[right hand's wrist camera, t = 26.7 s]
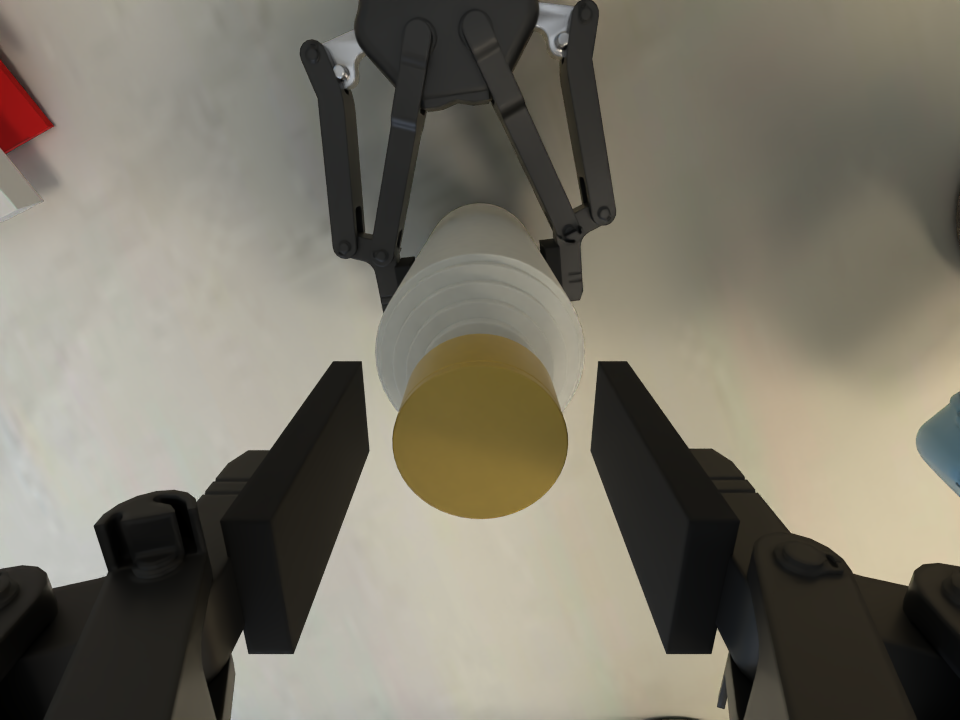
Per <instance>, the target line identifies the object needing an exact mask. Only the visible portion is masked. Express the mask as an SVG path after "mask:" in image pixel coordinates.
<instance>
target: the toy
mask: <svg viewBox="0 0 960 720" xmlns="http://www.w3.org/2000/svg"><path fill="white" fill-rule="evenodd" d="M52 127H54V126H53V124H52V123H51V122H50V121H49V119H48V118H47V117H46V116H45V114H44V113H43V112H42V111H41V110H40V108H39V107H38V106H37V105H36V103H35V102H34V101H33V100H32V98H31V97H30V96H29V95H28V93H27V92H26V91H25V90H24V89H23V87H22V86H21V85H20V84H19V82H18V81H17V80H16V79H15V77H14V76H13V75H12V74H11V72H10V71H9V70H8V69H7V67H6V66H5V65H4V64H3V63H2V61H1V60H0V222H2V221H5V220H8V219H10V218H12V217H14V216H16V215H18V214H20V213H22V212H24V211H25V210H27V209H29V208H31V207H33V206H35V205H37V204H39V203H41V202H43V199H42V198H41V197H40V196H39V194H38V193H37V192H36V191H35V190H34V188H33V187H32V186H31V185H30V184H29V182H28V181H27V180H26V179H25V177H24V176H23V175H22V174H21V173H20V171H19V170H18V169H17V168H16V166H15V165H14V164H13V163H12V162H11V160H10V159H9V158H8V157H7V155H6V153H8V152H10V151H11V150H13V149H15V148H17V147H18V146H20V145H22V144H24V143H26V142H27V141H29V140H31V139H33V138H34V137H36V136H38V135H40V134H41V133H43V132H45V131H47V130H48V129H50V128H52Z"/></svg>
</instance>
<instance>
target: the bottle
mask: <svg viewBox="0 0 960 720" xmlns="http://www.w3.org/2000/svg"><path fill="white" fill-rule="evenodd" d="M468 334H492V335H498V336H502V337H505V338H508V339H511V340H513V341H515V342H517V343H519V344H521V345H523V346H524V347H526V348H527V349H528V350H530V351H531V352H532V353H533V354H535V356H536V357H537V358H538V359H539V360H540V361H541V362H542V364H543V365H544V366H545V368H546V369H547V371H548V373H549V375H550V377H551V380H552V383H553V386H554V389H555V392H556V395H557V398H558V401H559V405H560V408H561V411H562V412H563V410H564V409H565V408H566V406H567V405H568V403H569V402H570V401H571V399H572V397H573V395H574V393H575V391H576V389H577V387H578V384H579V382H580V379H581V376H582V371H583V366H584V357H585V345H584V336H583V331H582V326H581V323H580V321H579V318H578V315H577V313H576V311H575V309H574V307H573V305H572V303H571V301H570V300H569V298H568V297H567V295H566V293H565V292H564V290H563V288H562V287H561V285H560V284H559V282H558V280H557V279H556V277H555V275H554V274H553V272H552V271H551V269H550V267H549V266H548V264H547V262H546V261H545V259H544V258H543V256H542V254H541V253H540V251H539V250H538V248H537V246H536V245H535V243H534V241H533V240H532V238H531V237H530V235H529V233H528V232H527V230H526V228H525V227H524V226H523V224H522V223H521V222H520V221H519V220H518V219H517V218H516V217H515V216H514V215H513V214H512V213H510V212H508V211H507V210H505V209H503V208H501V207H498V206H495V205H492V204H485V203H475V204H468V205H465V206H462V207H459V208H457V209H455V210H453V211H452V212H450V213H449V214H447V215H446V216H445V217H444V218H443V219H442V220H441V221H440V222H439V223H438V224H437V226H436V227H435V229H434V230H433V232H432V234H431V235H430V237H429V238H428V240H427V242H426V243H425V245H424V247H423V248H422V250H421V251H420V253H419V255H418V256H417V258H416V260H415V261H414V263H413V264H412V266H411V268H410V269H409V271H408V273H407V274H406V276H405V277H404V279H403V281H402V282H401V284H400V286H399V287H398V289H397V290H396V292H395V294H394V295H393V297H392V299H391V300H390V302H389V304H388V306H387V308H386V309H385V311H384V313H383V316H382V319H381V321H380V324H379V328H378V332H377V337H376V350H375V354H376V365H377V370H378V374H379V378H380V381H381V384H382V386H383V389H384V391H385V393H386V395H387V397H388V398H389V400H390V402H391V403H392V404H393V406H394V407H395V409H396V410H397V411H398V412H399V409H400V406H401V403H402V400H403V396H404V393H405V390H406V387H407V384H408V381H409V378H410V376H411V374H412V372H413V370H414V369H415V367H416V365H417V364H418V363H419V361H420V360H421V359H422V358H423V357H424V356H425V355H426V354H427V353H428V352H429V351H430V350H432V349H433V348H435V347H436V346H438V345H439V344H441V343H443V342H445V341H447V340H450V339H452V338H455V337H459V336H463V335H468Z"/></svg>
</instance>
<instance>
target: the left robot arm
mask: <svg viewBox="0 0 960 720" xmlns="http://www.w3.org/2000/svg"><path fill="white" fill-rule="evenodd" d="M598 18H599V10H598V7H597V5H596V4H595V3H594V2H593V1H592V0H581V1H579V2H577V4H576V5H575V6H568V5H560V4H551V3H543V2H539V1H538V0H359V6H358V11H357V15H356V18H355V23H354V30H351V31H349V32H347V33H345V34H342V35H340V36H338V37H335V38H333V39H331V40H329V41H326V42H324V43H320V42H318V41H316V40H307V41H306V42H304V43H303V44H302V46H301V48H300V57H301V61H302V63H303V65H304V68H305V70H306V72H307V75H308V77H309V79H310V82H311V84H312V86H313V89H314V91H315V93H316V96H317V98H318V106H319V116H320V126H321V136H322V146H323V155H324V165H325V175H326V185H327V195H328V205H329V214H330V224H331V234H332V244H333V249H334V252H335V253H336V255H337V256H339V257H340V258H343V259H348V258H352V259H357V260H361V261H365V262H367V263H369V264H370V265H371V266H372V267H373V269H374V270H375V274H376V278H377V283H378V288H379V293H380V297H381V303H382V308H383V313H384V311H385V309H386V308H387V306H388V304H389V302H390V300H391V299H392V297H393V295H394V294H395V292H396V290H397V289H398V287H399V286H400V284H401V282H402V281H403V279H404V277H405V276H406V274H407V273H408V271H409V269H410V268H411V266H412V264H413V263H414V261H415V256H414V257H406V258H401V259H400V255H399V253H400V251H401V248H400V246H401V241H402V235H403V230H404V225H405V219H406V214H407V208H408V203H409V198H410V192H411V187H412V182H413V176H414V171H415V165H416V160H417V155H418V149H419V144H420V138H421V134H422V131H423V127H424V122H425V117H426V112H427V111H428V112H431V111H438V110H444V109H446V108H448V107H450V106H453V105H455V104H457V103H461V104H467V105H481V104H488V103H489V101H491V103H492V106H493V108H494V110H495V112H496V114H497V116H498V118H499V120H500V121H501V123H502V125H503V127H504V129H505V132H506V134H507V136H508V138H509V140H510V142H511V144H512V146H513V148H514V151H515V153H516V155H517V157H518V159H519V161H520V163H521V165H522V167H523V170H524V172H525V174H526V176H527V178H528V180H529V182H530V184H531V186H532V189H533V191H534V193H535V195H536V197H537V199H538V201H539V203H540V205H541V207H542V210H543V212H544V214H545V216H546V218H547V220H548V222H549V224H550V226H551V229H552V231H553V239H546V240H539V242H540V253H541V254H542V256H543V258H544V259H545V261H546V262H547V264H548V266H549V267H550V269H551V271H552V272H553V274H554V275H555V277H556V279H557V280H558V282H559V284H560V285H561V287H562V288H563V290H564V292H565V293H566V295H567V297H568V298H569V300H570V301H577V300H580V298H581V295H582V292H583V283H582V265H581V248H580V247H581V241H582V239H583V237H584V236H585V235H586V234H587V233H588V232H590V231H592V230H594V229H596V228H598V227H600V226H603V225H608V224H610V223H611V222H612V221H613V220H614V218H615V216H616V207H615V201H614V194H613V188H612V182H611V175H610V169H609V163H608V156H607V150H606V144H605V137H604V131H603V125H602V118H601V112H600V105H599V99H598V93H597V86H596V80H595V74H594V67H593V61H592V57H593V51H594V44H595V38H596V31H597V25H598ZM533 31H535V32H539V33H540V34H541V35H542V36H543V37H544V39H545V41H546V48H547V52H548V54H549V56H550V57H551V58H553V59H555V60H560V62H559V72H560V82H561V89H562V94H563V100H564V105H565V111H566V116H567V122H568V128H569V133H570V139H571V144H572V150H573V156H574V161H575V167H576V172H577V178H578V184H579V189H580V195H581V200H582V205H580V206H578V207H576V208H574V209H572V207H571V204H570V202H569V200H568V198H567V196H566V193H565V191H564V189H563V187H562V185H561V182H560V180H559V178H558V176H557V174H556V171H555V169H554V167H553V165H552V163H551V160H550V158H549V156H548V154H547V152H546V149H545V147H544V145H543V143H542V141H541V138H540V136H539V134H538V132H537V130H536V127H535V125H534V123H533V121H532V119H531V116H530V114H529V112H528V110H527V107H526V105H525V101H524V98H523V96H522V94H521V91H520V89H519V87H518V85H517V83H516V80H515V78H514V76H513V74H512V73H513V71H514V69H515V67H516V65H517V63H518V61H519V59H520V57H521V55H522V53H523V51H524V49H525V47H526V45H527V43H528V41H529V39H530V37H531V35H532V33H533ZM365 56H368V57H369V59H370V60H371V61H372V62H373V63H374V64H375V65H376V66H377V68H378V69H379V70H380V71H381V72H382V73H383V74H384V75H385V77H386V78H387V79H388V80H389V81H390V82H391V83H392V84H393V86H394V87H395V94H394V100H393V107H392V113H391V129H390V136H389V142H388V148H387V154H386V160H385V166H384V172H383V178H382V184H381V190H380V196H379V202H378V208H377V214H376V220H375V226H374V232H373V235H372V234H367V233H365V224H364V211H363V199H362V186H361V174H360V161H359V148H358V136H357V123H356V112H355V104H354V100H353V96H352V92H351V90H352V89H354V88H355V87H356V86H357V85H358V83H359V78H360V77H359V70H358V68H359V63H360V61H361V60H362V58H364V57H365ZM956 224H957V235H958V241H959V245H960V193H959V198H958V205H957V216H956ZM916 447H917V450H918V452H919V454H920V456H921V457H922V458H923V460H924V461H925V462H926V463H927V464H928V465H929V466H930V468H931V469H932V470H933V471H934V472H935V473H936V474H937V475H938V476H939V477H940V478H941V479H942V480H943V481H944V482H945V483H946V484H947V485H948V486H949V487H950V488H951V489H952V490H953V491H954V492H955V493H956V494H957V495H958V496H959V497H960V392H958V393H956V394H955V395H953V396H952V397H951V399H950V403H949V404H948V405H947V406H946V407H944V408H943V409H942V410H941V411H939V412H938V413H937V414H936V415H934V416H933V417H932V418H931V419H929V420H928V421H927V422H926V423H924V424H923V425H922V426H921V428H920V429H919V431H918V433H917V437H916Z"/></svg>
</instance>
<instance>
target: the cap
mask: <svg viewBox="0 0 960 720" xmlns="http://www.w3.org/2000/svg"><path fill="white" fill-rule="evenodd" d="M392 441H393V453H394V459H395V462H396V465H397V468H398V470H399V472H400V474H401V476H402V478H403V479H404V481H405V482H406V484H407V485H408V486H409V487H410V489H411V490H412V491H413V492H414V493H415V494H416V495H417V496H418V497H420V498H421V499H422V500H423V501H425V502H426V503H428V504H429V505H431V506H432V507H434V508H436V509H438V510H440V511H443V512H445V513H448V514H451V515H455V516H458V517H464V518H471V519H489V518H497V517H502V516H506V515H509V514H513V513H515V512H518V511H520V510H522V509H524V508H526V507H528V506H530V505H531V504H533V503H534V502H536V501H537V500H538V499H540V498H541V497H542V496H543V495H544V494H545V493H546V492H547V491H548V490H549V489H550V488H551V487H552V485H553V484H554V483H555V481H556V480H557V478H558V476H559V475H560V473H561V471H562V468H563V466H564V463H565V460H566V456H567V449H568V433H567V428H566V423H565V420H564V417H563V414H562V411H561V408H560V405H559V401H558V398H557V395H556V392H555V389H554V386H553V383H552V380H551V377H550V375H549V373H548V371H547V369H546V368H545V366H544V365H543V364H542V362H541V361H540V360H539V359H538V358H537V357H536V356H535V354H533V353H532V352H531V351H530V350H528V349H527V348H526V347H524V346H523V345H521V344H519V343H517V342H515V341H513V340H511V339H508V338H505V337H502V336H498V335H492V334H468V335H463V336H459V337H455V338H452V339H450V340H447V341H445V342H443V343H441V344H439V345H438V346H436V347H435V348H433V349H432V350H430V351H429V352H428V353H427V354H426V355H425V356H424V357H423V358H422V359H421V360H420V361H419V363H418V364H417V365H416V367H415V369H414V370H413V372H412V374H411V376H410V378H409V381H408V384H407V387H406V390H405V393H404V396H403V400H402V403H401V406H400V409H399V412H398V415H397V419H396V422H395V426H394V430H393V438H392Z"/></svg>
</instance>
